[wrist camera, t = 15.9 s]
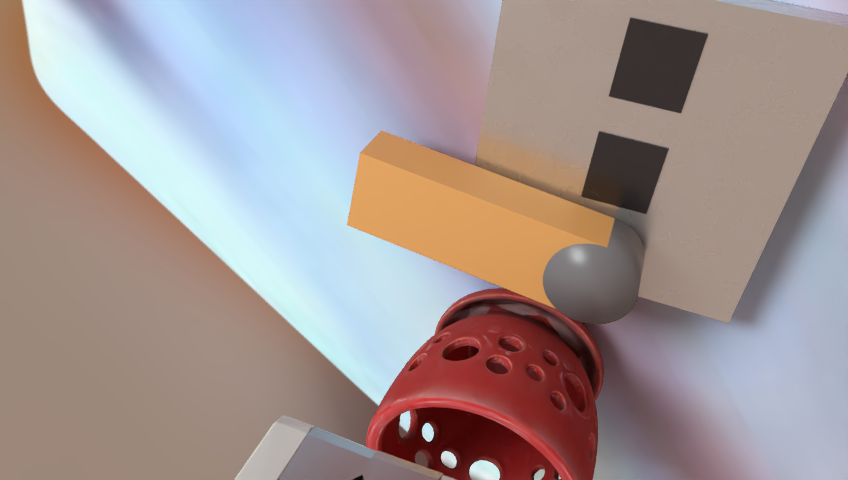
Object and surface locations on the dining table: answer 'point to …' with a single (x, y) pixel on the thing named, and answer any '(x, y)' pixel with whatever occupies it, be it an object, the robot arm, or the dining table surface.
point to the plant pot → (498, 392)
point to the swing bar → (497, 229)
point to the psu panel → (666, 123)
